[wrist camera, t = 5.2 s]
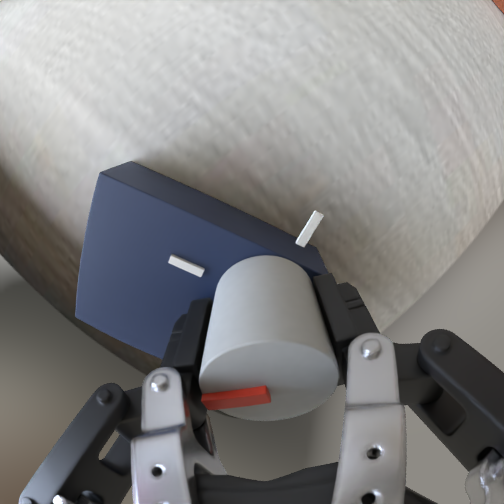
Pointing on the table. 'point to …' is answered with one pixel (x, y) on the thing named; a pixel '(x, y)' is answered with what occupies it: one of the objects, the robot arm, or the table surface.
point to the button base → (499, 4)
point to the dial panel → (167, 253)
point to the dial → (267, 343)
